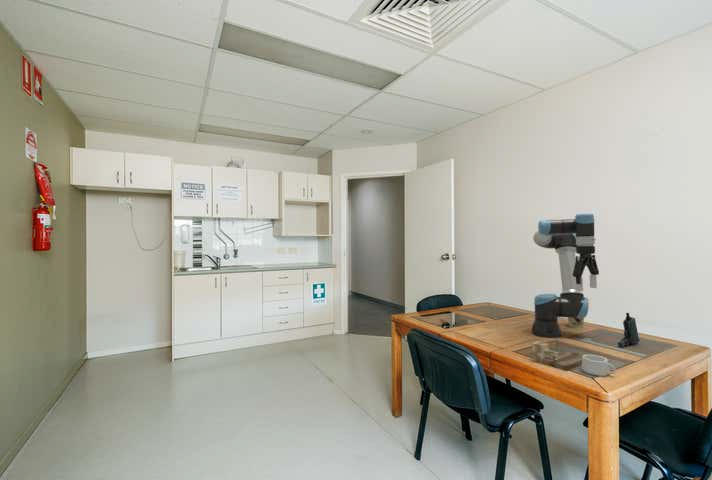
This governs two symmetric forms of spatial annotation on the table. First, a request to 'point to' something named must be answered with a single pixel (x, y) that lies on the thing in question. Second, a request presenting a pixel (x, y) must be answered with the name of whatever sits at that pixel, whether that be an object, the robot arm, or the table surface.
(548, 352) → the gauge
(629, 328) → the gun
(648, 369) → the table surface
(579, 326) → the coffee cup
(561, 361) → the board
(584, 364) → the mug
